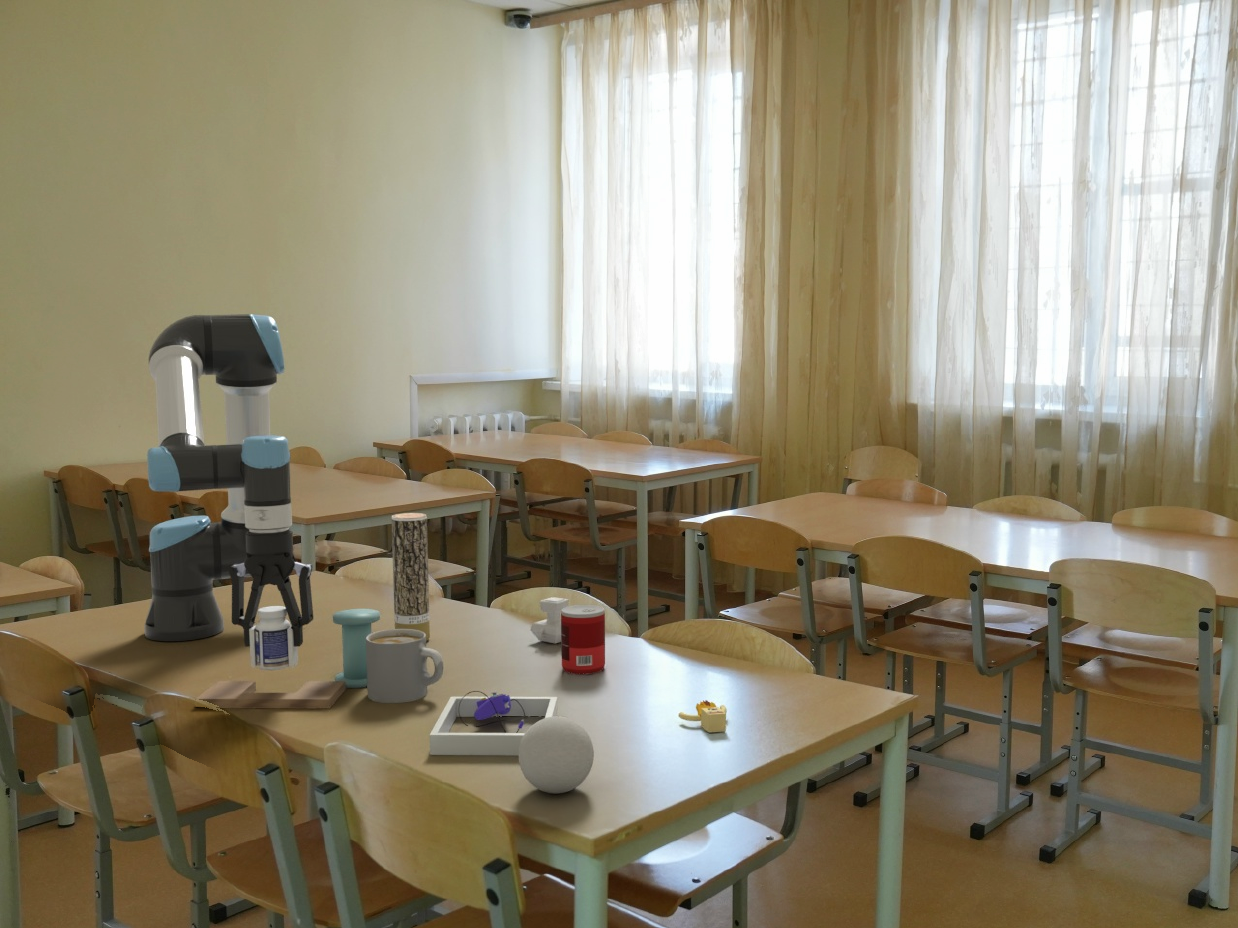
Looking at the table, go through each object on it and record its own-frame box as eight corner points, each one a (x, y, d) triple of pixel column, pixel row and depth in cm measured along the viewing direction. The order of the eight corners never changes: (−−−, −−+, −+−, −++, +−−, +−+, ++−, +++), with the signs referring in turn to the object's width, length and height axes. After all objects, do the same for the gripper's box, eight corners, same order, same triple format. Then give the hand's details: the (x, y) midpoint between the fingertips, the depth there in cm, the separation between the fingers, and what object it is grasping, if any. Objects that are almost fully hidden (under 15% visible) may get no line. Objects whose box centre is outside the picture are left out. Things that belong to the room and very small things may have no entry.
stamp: (555, 633, 241) (554, 592, 240) (581, 638, 237) (580, 597, 236) (526, 643, 234) (525, 601, 233) (552, 648, 230) (552, 605, 229)
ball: (556, 811, 153) (555, 736, 152) (503, 792, 159) (502, 719, 158) (609, 789, 160) (609, 716, 159) (556, 771, 167) (555, 701, 166)
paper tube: (433, 636, 239) (430, 513, 237) (425, 645, 233) (421, 518, 230) (400, 635, 240) (397, 512, 237) (390, 644, 233) (387, 518, 230)
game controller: (454, 696, 189) (516, 679, 191) (467, 747, 188) (528, 730, 189) (454, 696, 179) (519, 678, 181) (467, 750, 178) (532, 732, 180)
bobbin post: (329, 687, 206) (327, 619, 204) (341, 674, 214) (339, 608, 212) (375, 687, 206) (373, 619, 204) (386, 674, 214) (384, 608, 212)
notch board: (196, 707, 196) (195, 698, 195) (218, 689, 206) (218, 680, 205) (329, 708, 195) (329, 699, 195) (345, 689, 205) (345, 681, 205)
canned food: (614, 667, 217) (613, 608, 215) (582, 677, 211) (582, 616, 210) (583, 660, 222) (583, 602, 221) (552, 669, 216) (551, 609, 215)
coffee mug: (355, 697, 201) (353, 639, 199) (394, 681, 209) (392, 626, 208) (417, 709, 194) (415, 649, 193) (455, 693, 202) (454, 635, 201)
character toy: (723, 694, 190) (741, 710, 182) (723, 714, 190) (741, 730, 183) (675, 699, 188) (691, 714, 180) (675, 719, 188) (691, 735, 181)
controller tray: (430, 754, 173) (429, 734, 173) (451, 714, 191) (451, 696, 191) (547, 755, 173) (546, 735, 172) (557, 715, 191) (557, 696, 190)
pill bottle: (299, 664, 203) (297, 606, 202) (276, 672, 197) (274, 613, 196) (272, 660, 205) (270, 603, 204) (249, 668, 200) (247, 610, 199)
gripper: (204, 532, 195) (211, 671, 198) (318, 532, 195) (323, 671, 197) (221, 525, 203) (227, 658, 205) (331, 525, 202) (335, 658, 205)
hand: (274, 664), depth 201 cm, fingers closed on pill bottle, 6 cm apart
